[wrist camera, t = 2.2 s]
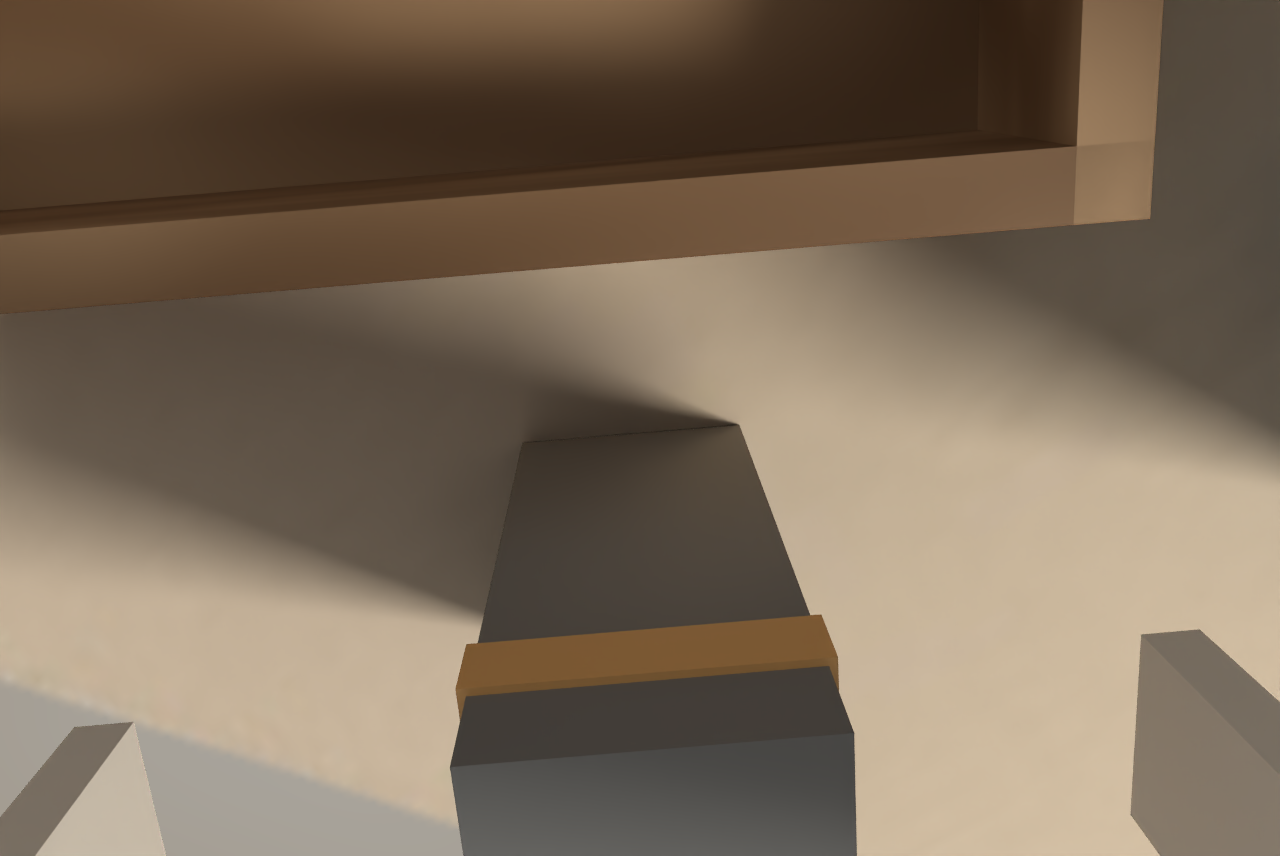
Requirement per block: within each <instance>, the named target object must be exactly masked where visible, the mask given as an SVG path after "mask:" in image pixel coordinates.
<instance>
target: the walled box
mask: <svg viewBox="0 0 1280 856" xmlns="http://www.w3.org/2000/svg"><path fill="white" fill-rule="evenodd" d="M1163 3H1164V0H0V314H6V313H18V312H30V311H42V310H54V309H66V308H79V307H91V306H103V305H115V304H127V303H139V302H151V301H163V300H175V299H187V298H199V297H211V296H223V295H235V294H247V293H260V292H272V291H284V290H296V289H308V288H320V287H332V286H344V285H356V284H368V283H380V282H392V281H404V280H416V279H429V278H441V277H453V276H465V275H477V274H489V273H501V272H513V271H525V270H537V269H549V268H561V267H573V266H585V265H597V264H610V263H622V262H634V261H646V260H658V259H670V258H682V257H694V256H706V255H718V254H730V253H742V252H754V251H766V250H778V249H791V248H803V247H815V246H827V245H839V244H851V243H863V242H875V241H887V240H899V239H911V238H923V237H935V236H947V235H959V234H972V233H984V232H996V231H1008V230H1020V229H1032V228H1044V227H1056V226H1068V225H1080V224H1092V223H1104V222H1116V221H1128V220H1140V219H1150V212H1151V196H1152V180H1153V164H1154V148H1155V131H1156V115H1157V99H1158V83H1159V67H1160V51H1161V35H1162V19H1163Z"/></svg>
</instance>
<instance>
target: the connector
mask: <svg viewBox="0 0 1280 856" xmlns="http://www.w3.org/2000/svg"><path fill="white" fill-rule="evenodd" d="M456 696H457V703H458V709H459V716H460V725H459V729H458V734H457V738H456V743H455V747H454V752H453V756H452V760H451V765H450V770H451V777H452V783H453V790H454V796H455V803H456V810H457V816H458V823H459V829H460V836H461V842H462V849H463V855H464V856H857V844H856V798H855V752H854V731H853V729H852V726H851V723H850V721H849V718H848V715H847V713H846V710H845V707H844V705H843V702H842V699H841V697H840V694H839V679H838V656H837V653H836V651H835V648H834V646H833V643H832V641H831V638H830V636H829V633H828V631H827V628H826V626H825V623H824V620H823V618H822V615H810V613H809V611H808V608H807V605H806V603H805V600H804V597H803V595H802V592H801V589H800V587H799V584H798V581H797V579H796V576H795V573H794V570H793V568H792V565H791V562H790V560H789V557H788V554H787V552H786V549H785V546H784V544H783V541H782V538H781V536H780V533H779V530H778V528H777V525H776V522H775V520H774V517H773V514H772V511H771V509H770V506H769V503H768V501H767V498H766V495H765V493H764V490H763V487H762V485H761V482H760V479H759V477H758V474H757V471H756V469H755V466H754V463H753V460H752V458H751V455H750V452H749V450H748V447H747V444H746V442H745V439H744V436H743V434H742V431H741V428H740V426H739V425H731V426H719V427H707V428H695V429H683V430H671V431H659V432H647V433H635V434H623V435H611V436H599V437H587V438H575V439H563V440H551V441H539V442H527V443H522V447H521V452H520V456H519V461H518V465H517V469H516V474H515V478H514V483H513V487H512V492H511V496H510V501H509V505H508V510H507V514H506V519H505V523H504V528H503V532H502V537H501V541H500V546H499V550H498V555H497V559H496V563H495V568H494V572H493V577H492V581H491V586H490V590H489V595H488V599H487V604H486V608H485V613H484V617H483V622H482V626H481V631H480V635H479V640H478V643H476V644H466V648H465V652H464V656H463V660H462V665H461V669H460V673H459V677H458V681H457V685H456Z"/></svg>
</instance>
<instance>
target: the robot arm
mask: <svg viewBox="0 0 1280 856" xmlns="http://www.w3.org/2000/svg"><path fill="white" fill-rule="evenodd" d="M1131 816H1132V817H1133V819H1134V820H1135V821H1136V823H1137V824H1138V826H1139V827H1140V828H1141V830H1142V831H1143V832H1144V834H1145V835H1146V837H1147V838H1148V839H1149V841H1150V842H1151V843H1152V845H1153V846H1154V848H1155V849H1156V850H1157V852H1158V853H1159V854H1160V856H1280V702H1279V701H1278V700H1277V699H1276V698H1274V697H1273V696H1272V695H1271V694H1270V693H1269V692H1268V691H1267V690H1266V689H1265V688H1263V687H1262V686H1261V685H1260V684H1259V683H1258V682H1257V681H1256V680H1255V679H1254V678H1252V677H1251V676H1250V675H1249V674H1248V673H1247V672H1246V671H1245V670H1244V669H1243V668H1241V667H1240V666H1239V665H1238V664H1237V663H1236V662H1235V661H1234V660H1233V659H1232V658H1230V657H1229V656H1228V655H1227V654H1226V653H1225V652H1224V651H1223V650H1222V649H1221V648H1219V647H1218V646H1217V645H1216V644H1215V643H1214V642H1213V641H1212V640H1211V639H1210V638H1208V637H1207V636H1206V635H1205V634H1204V633H1203V632H1202V631H1201V630H1188V631H1177V632H1165V633H1154V634H1142V635H1141V648H1140V664H1139V681H1138V698H1137V714H1136V731H1135V748H1134V765H1133V781H1132V798H1131ZM0 856H166V853H165V849H164V845H163V841H162V837H161V833H160V829H159V824H158V821H157V817H156V813H155V808H154V804H153V800H152V796H151V791H150V787H149V783H148V779H147V775H146V771H145V767H144V763H143V758H142V755H141V750H140V746H139V742H138V738H137V734H136V730H135V725H134V722H128V723H117V724H105V725H94V726H82V727H74V728H73V730H72V731H71V732H70V733H69V734H68V736H67V737H66V738H65V739H64V740H63V742H62V743H61V744H60V746H59V747H58V748H57V749H56V750H55V751H54V753H53V754H52V755H51V756H50V758H49V759H48V760H47V761H46V762H45V764H44V765H43V766H42V767H41V768H40V770H39V771H38V772H37V773H36V774H35V776H34V777H33V778H32V779H31V781H30V782H29V783H28V784H27V785H26V787H25V788H24V789H23V790H22V791H21V793H20V794H19V795H18V796H17V798H16V799H15V800H14V801H13V802H12V804H11V805H10V806H9V807H8V808H7V810H6V811H5V812H4V813H3V815H2V816H1V817H0Z"/></svg>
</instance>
